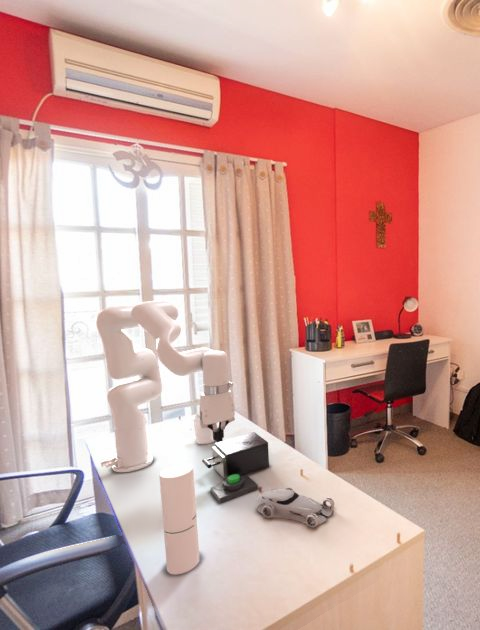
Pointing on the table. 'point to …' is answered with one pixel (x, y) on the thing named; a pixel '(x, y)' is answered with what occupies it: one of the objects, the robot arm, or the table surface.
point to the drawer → (217, 462)
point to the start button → (233, 479)
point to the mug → (202, 432)
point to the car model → (294, 507)
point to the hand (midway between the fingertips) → (218, 440)
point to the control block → (233, 488)
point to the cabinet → (245, 454)
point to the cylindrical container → (179, 518)
